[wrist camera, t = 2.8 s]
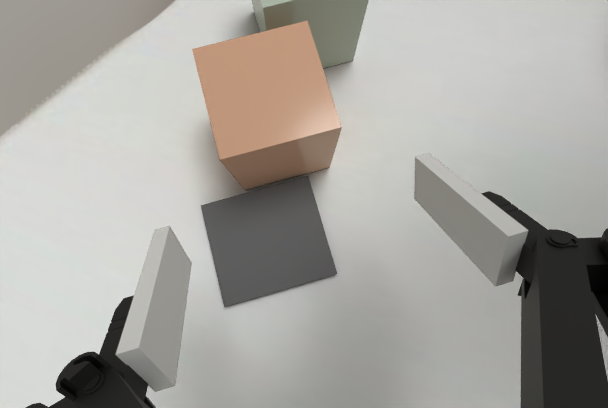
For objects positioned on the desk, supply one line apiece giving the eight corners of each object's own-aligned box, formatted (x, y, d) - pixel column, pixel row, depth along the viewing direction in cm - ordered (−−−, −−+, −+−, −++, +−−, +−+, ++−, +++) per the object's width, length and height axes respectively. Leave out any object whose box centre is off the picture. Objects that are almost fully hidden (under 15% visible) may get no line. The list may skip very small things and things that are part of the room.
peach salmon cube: (305, 90, 34) (307, 20, 24) (329, 167, 32) (341, 126, 22) (225, 111, 33) (192, 49, 23) (245, 190, 32) (219, 159, 22)
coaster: (307, 178, 32) (308, 175, 31) (336, 273, 30) (337, 273, 29) (203, 206, 31) (201, 205, 30) (226, 305, 30) (224, 307, 29)
